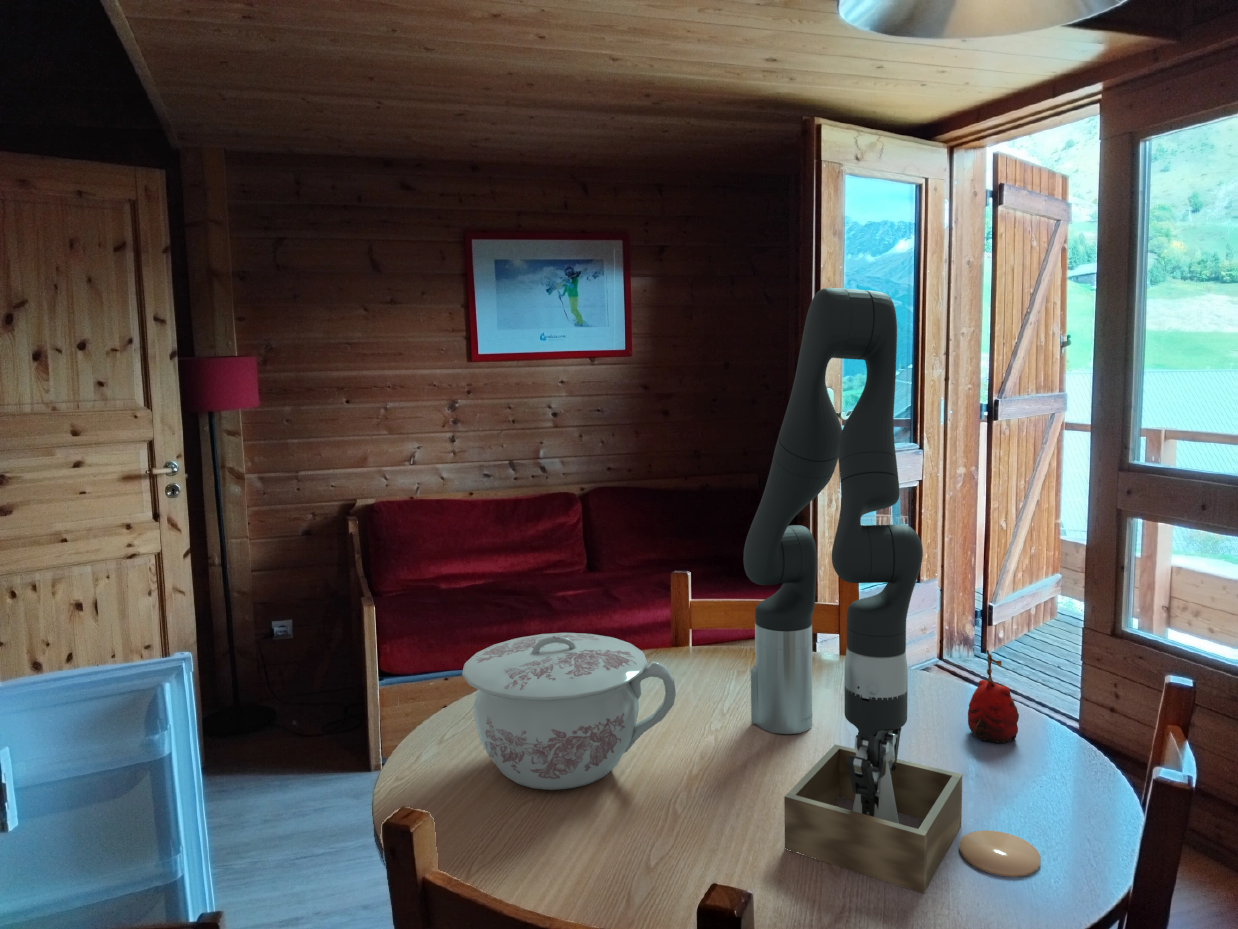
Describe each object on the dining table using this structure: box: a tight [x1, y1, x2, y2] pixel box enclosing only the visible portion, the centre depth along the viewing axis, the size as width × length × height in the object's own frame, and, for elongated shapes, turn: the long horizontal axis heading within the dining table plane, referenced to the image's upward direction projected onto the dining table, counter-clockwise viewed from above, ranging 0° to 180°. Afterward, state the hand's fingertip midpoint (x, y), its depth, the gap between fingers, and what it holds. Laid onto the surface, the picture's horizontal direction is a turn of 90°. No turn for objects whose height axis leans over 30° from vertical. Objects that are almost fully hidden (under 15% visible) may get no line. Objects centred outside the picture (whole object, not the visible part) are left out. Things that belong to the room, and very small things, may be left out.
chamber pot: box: [461, 632, 677, 791], centre depth 131 cm, size 28×28×21 cm
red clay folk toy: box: [967, 649, 1020, 744], centre depth 138 cm, size 8×7×15 cm
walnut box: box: [783, 743, 963, 894], centre depth 111 cm, size 17×17×7 cm
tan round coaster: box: [959, 830, 1041, 878], centre depth 107 cm, size 9×9×1 cm
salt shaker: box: [851, 741, 900, 824], centre depth 111 cm, size 6×6×13 cm
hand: (874, 814), depth 111 cm, fingers closed on salt shaker, 3 cm apart
